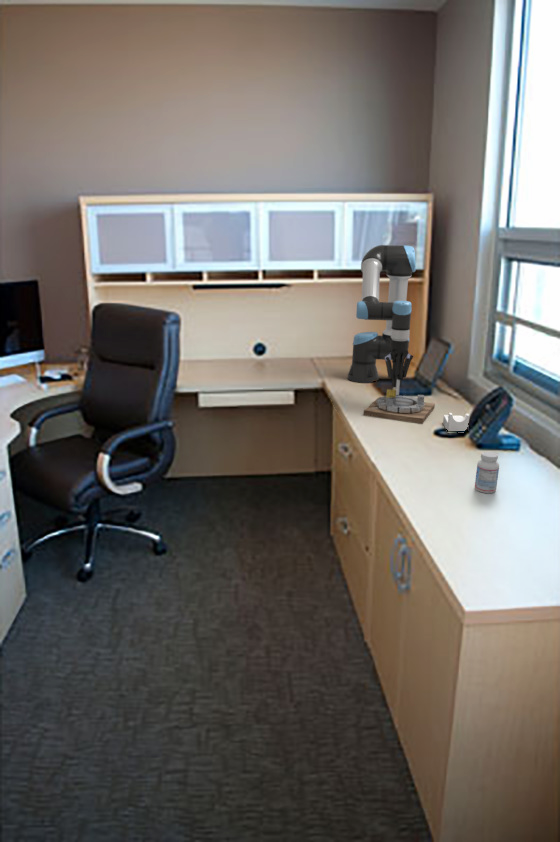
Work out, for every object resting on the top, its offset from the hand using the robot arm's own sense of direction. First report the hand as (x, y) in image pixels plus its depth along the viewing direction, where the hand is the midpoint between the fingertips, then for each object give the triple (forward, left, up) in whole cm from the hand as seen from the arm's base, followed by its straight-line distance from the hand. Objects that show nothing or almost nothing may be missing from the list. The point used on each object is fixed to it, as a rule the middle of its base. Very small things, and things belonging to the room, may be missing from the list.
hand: (395, 394), depth 268 cm
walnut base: (+7, +4, -5) cm, 10 cm away
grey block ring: (+7, +4, -3) cm, 9 cm away
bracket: (+19, +28, -6) cm, 35 cm away
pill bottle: (+75, +46, -6) cm, 88 cm away
